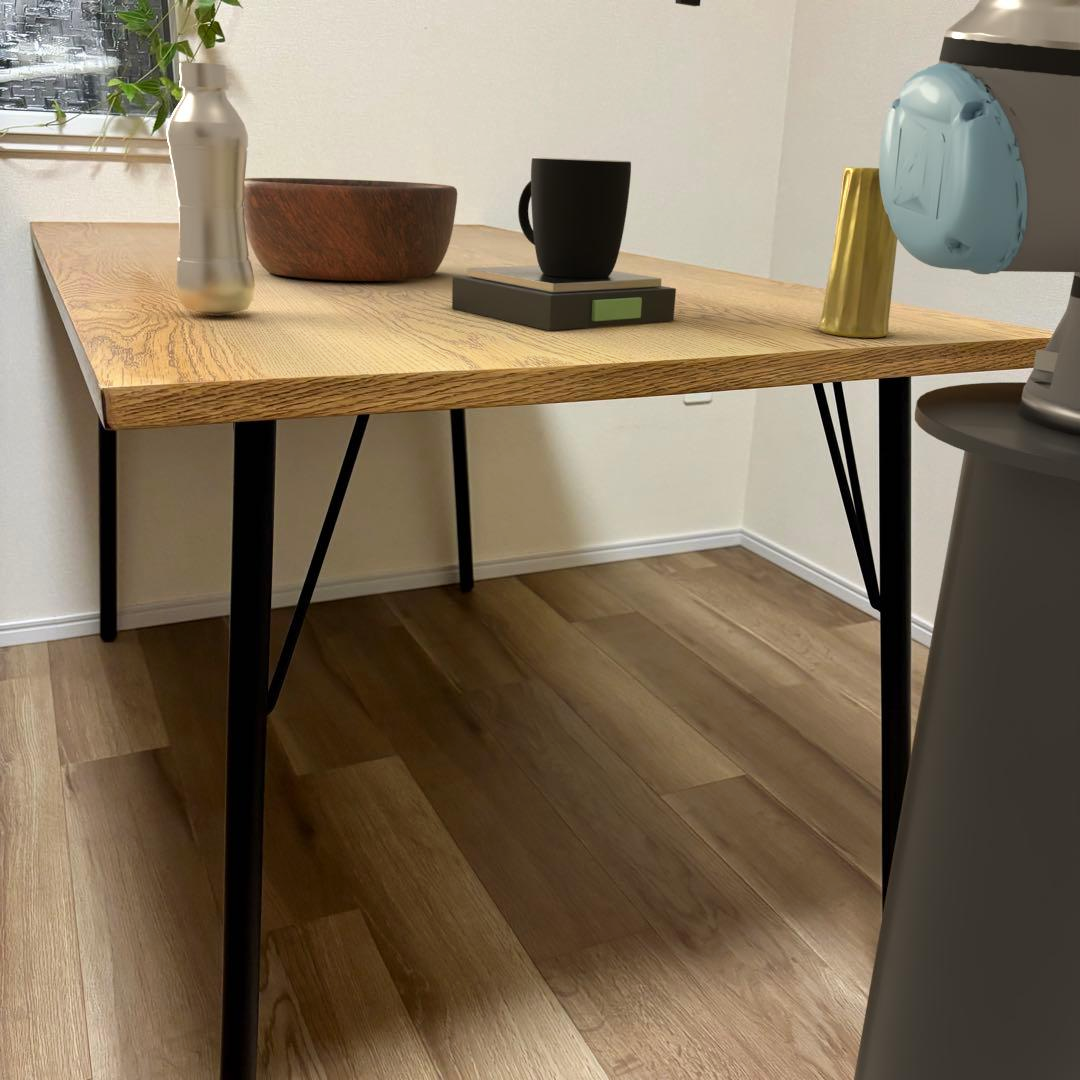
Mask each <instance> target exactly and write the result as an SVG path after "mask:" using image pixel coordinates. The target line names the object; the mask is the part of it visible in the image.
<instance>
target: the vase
mask: <svg viewBox="0 0 1080 1080" xmlns="http://www.w3.org/2000/svg"><path fill="white" fill-rule="evenodd" d="M842 172H843V173H842V183H841V192H840V198H839V206H838V213H837V220H836V227H835V234H834V241H833V248H832V253H831V254H832V256H831V259H830V260H831V261H830V266H829V272H828V277H827V282H826V287H825V294H824V301H823V306H822V313H821V317H820V320H819V325H818V331H820V332H822V333H825V334H827V335H828V334H829V335H832V336H837V337H838V336H839V337H847V338H857V339H858V338H860V339H874V338H875V339H876V338H877V339H878V338H883V337H885V336H887V335H888V334H889V319H890V313H891V303H892V302H891V301H892V295H893V293H892V292H893V284H894V283H893V282H894V274H895V273H894V272H895V264H896V262H895V261H896V253H897V246H898V239H897V237H896V235H895V233H894V231H893V230H892V228H891V224H890V220H889V216H888V214H887V213H886V212H885V209H884V205H883V201H882V195H881V189H880V179H879V167H862V166H861V167H860V166H859V167H857V166H844V168H843V171H842Z"/></svg>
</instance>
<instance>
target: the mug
mask: <svg viewBox="0 0 1080 1080" xmlns="http://www.w3.org/2000/svg"><path fill="white" fill-rule="evenodd" d="M530 165H531V166H530V180H529V181H528V183H526V185H525V186H524V188H523V190H522V192H521V194H520V197H519V200H518V207H517V213H518V215H517V216H518V221H519V225H520V228H521V231H522V233H523V235H524V236H525V238H526V239H527V241H529V243H531V244H532V245H533V246H534V249H535V250H534V251H535V255H536V261H537V264H538V266H539V267H540V269H541V271H542V272H543V273H544V274H546V275H550V276H556V277H567V278H604V277H608V276H609V275H610V274H611V273H612V271H614V269H615V267H616V264H617V261H618V257H619V254H620V251H621V250H620V249H621V247H622V246H621V245H622V240H623V235H624V230H625V224H626V217H627V211H628V204H629V196H630V188H631V187H630V186H631V178H632V177H631V176H632V161H630V160H617V159H616V160H615V159H592V158H591V159H590V158H569V157H568V158H565V157H543V156H541V157H540V156H532V157H531V164H530ZM530 202H531V221H532V222H531V221H530V216H529V209H530V208H529V207H530ZM531 223H532V225H531Z"/></svg>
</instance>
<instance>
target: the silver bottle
mask: <svg viewBox="0 0 1080 1080" xmlns="http://www.w3.org/2000/svg"><path fill="white" fill-rule="evenodd" d="M179 77H180V78H179V79H180V80H179V88H183V96H182V97H181V100H180V101H179V102H178V104H177V106H176V107H175V108H174V110H173V112H172V114H171V117H170V118H169V120H168V123H167V128H166V139H167V144H168V146H169V148H168V150H169V155H170V161H171V164H172V165H171V166H172V171H173V176H174V180H175V189H176V190H175V191H176V198H177V199H178V204H177V208H178V221H179V222H178V255H179V256H178V257H177V261H176V268H175V280H174V281H175V288H176V293H177V297H178V300H179V302H180V303H181V305H182V306H183V307H184V309H186V310H189V311H192V312H196V313H202V314H205V315H209V316H216V317H217V316H226V315H231V314H233V313H238V312H242V311H245V310H248V309H249V308H250V306H251V304H252V303H253V301H254V294H255V286H256V283H255V278H254V277H255V276H254V271H253V267H252V263H251V259H249V256H250V255H249V247H248V237H247V233H246V229H245V221H244V207H243V201H244V182H245V179H246V171H247V170H246V168H247V158H248V147H249V134H248V131H247V128H246V125H245V123H244V121H243V119H242V118H241V116H240V115H239V113H238V111H237V110H236V108H235V107H234V106H233V105H232V103H231V102H230V101H229V100H228V98H227V93H226V91H229V90H230V84H229V83H228V68H227V66H226V65H225V64H220V63H219V64H218V63H207V62H180V63H179Z"/></svg>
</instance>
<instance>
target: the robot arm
mask: <svg viewBox="0 0 1080 1080" xmlns="http://www.w3.org/2000/svg"><path fill="white" fill-rule="evenodd" d="M674 2H675V3H674V4H678V5H682V6H683V5H684V6H689V7H700V6H701V0H675V1H674ZM878 160H879V161H878V168H879V179H880V189H881V195H882V201H883V205H884V209H885V212H886V213H887V214H888V216H889V220H890V224H891V228H892V230H893V231H894V233H895V235H896V237H897V241H898V242H899V243H900V244H901V245H902V247H903V248H904V250H906V251H907V252H908V254H910V255H911V256H912V257H913V258H914V259H916V260H918V261H919V262H921V263H923V264H925V265H927V266H930V267H932V268H933V267H935V268H939V269H947V270H959V271H969V272H972V273H974V274H978V275H990V274H998V273H1000V272H1018V273H1019V272H1020V273H1021V272H1024V273H1025V272H1027V273H1028V272H1029V273H1030V272H1031V273H1073V279H1072V284H1071V289H1070V294H1069V298H1068V303H1067V307H1066V309H1065V312H1064V313H1063V315H1062V317H1061V319H1060V321H1059V322H1058V325H1057V326H1056V328H1055V329H1054V331H1053V333H1052V335H1051V337H1050V339H1049V341H1048V342H1047V344H1046V346H1045V348H1044V349H1037V348H1036V349H1035V350H1036V351H1035V355H1034V361H1033V366H1032V371H1031V373H1030V374H1029V376H1028V378H1027V380H1026V382H1025V383H1026V385H1025V386H1024V388H1023V394H1022V399H1021V404H1020V409H1019V411H1020V413H1021V415H1022V416H1024V417H1025V418H1026V419H1028V420H1030V421H1032V422H1034V423H1036V424H1038V425H1041V426H1044V427H1047V428H1050V429H1053V430H1056V431H1059V432H1063V433H1067V434H1071V435H1075V436H1079V437H1080V0H978V2H977V3H976V5H975V6H974V7H973V9H971V11H969V12H968V13H967V14H965V15H964V16H963V17H961V18H960V19H959V20H958V21H956V22H955V23H954V24H953V25H951V26H950V27H949V28H948V29H946V30H945V32H944V36H943V41H942V45H941V48H940V53H939V59H938V63H936V64H934V65H933V64H932V65H930V66H928V67H927V68H924V69H923V70H920V71H918V72H916V73H915V74H913V75H912V76H911V77H910V78H908V80H906V81H905V83H904V84H903V86H902V87H901V88H900V89H899V98H896V99H894V100H893V101H892V103H891V106H890V108H889V110H888V112H887V115H886V118H885V121H884V125H883V129H882V134H881V139H880V147H879V158H878Z"/></svg>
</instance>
